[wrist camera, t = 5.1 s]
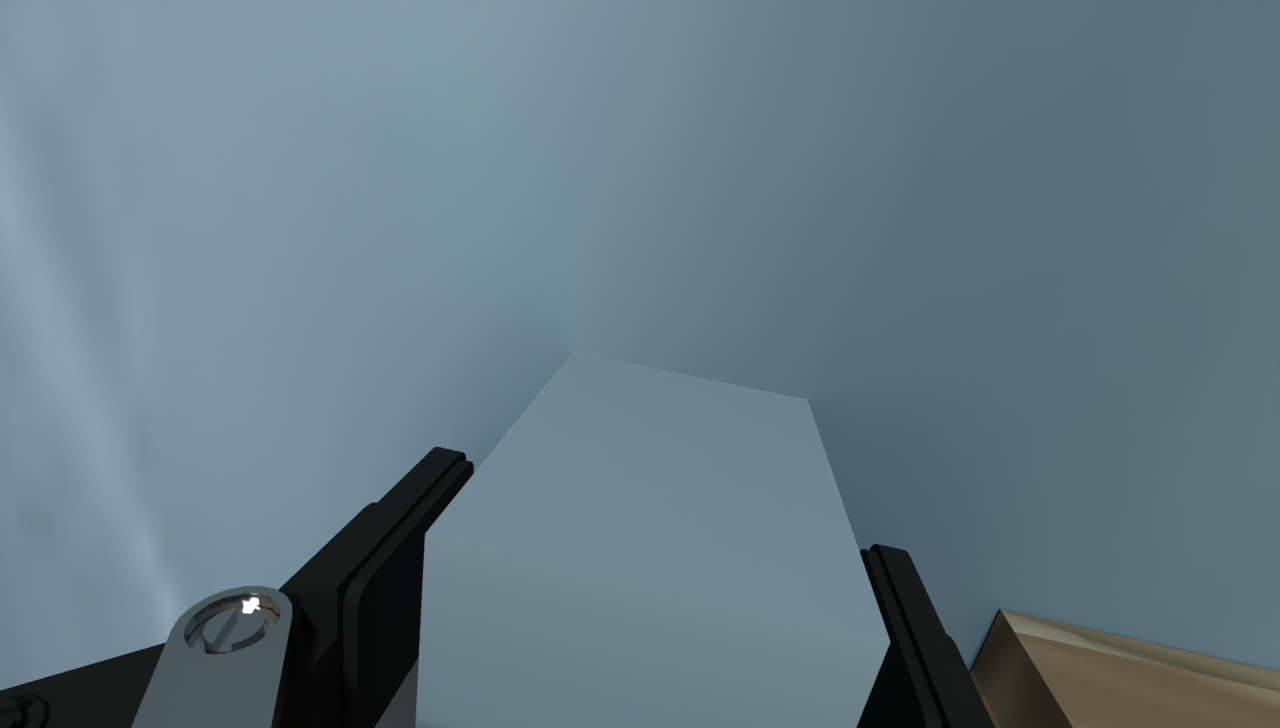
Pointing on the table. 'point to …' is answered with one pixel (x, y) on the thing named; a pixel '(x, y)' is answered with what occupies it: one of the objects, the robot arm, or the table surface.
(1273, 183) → the table surface
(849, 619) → the grey block
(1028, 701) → the wooden tray
